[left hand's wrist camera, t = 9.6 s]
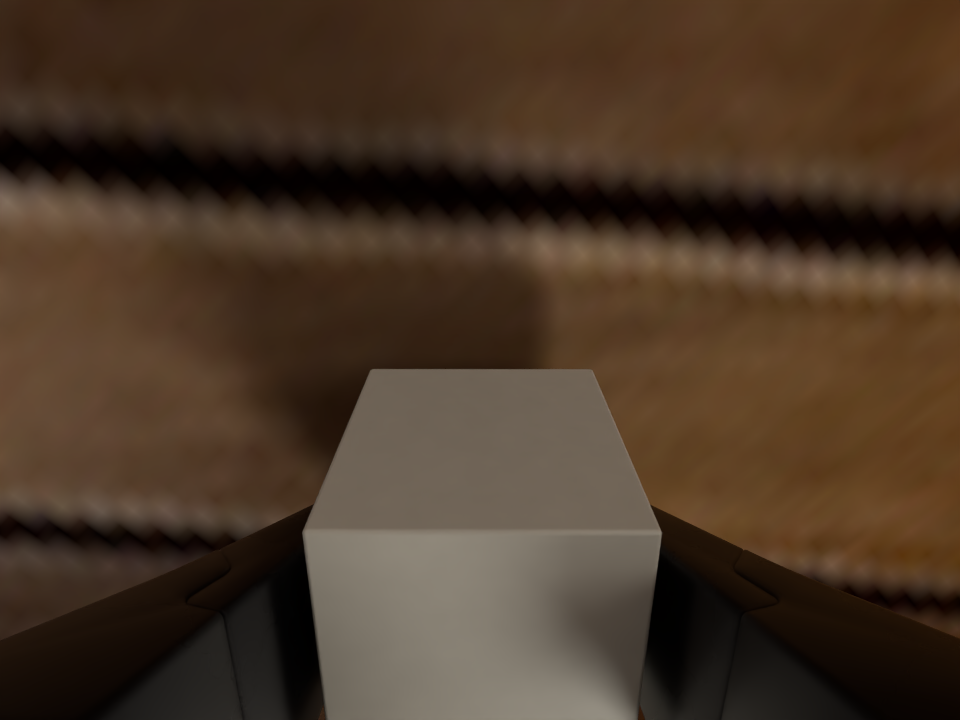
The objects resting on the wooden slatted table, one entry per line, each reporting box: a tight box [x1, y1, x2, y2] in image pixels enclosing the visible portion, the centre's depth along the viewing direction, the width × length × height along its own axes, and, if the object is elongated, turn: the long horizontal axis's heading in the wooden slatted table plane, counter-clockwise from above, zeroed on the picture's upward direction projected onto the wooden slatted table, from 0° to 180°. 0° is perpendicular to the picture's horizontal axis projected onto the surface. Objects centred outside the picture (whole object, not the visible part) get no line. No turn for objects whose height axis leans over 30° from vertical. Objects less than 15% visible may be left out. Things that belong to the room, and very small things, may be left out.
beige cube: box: [302, 369, 662, 720], centre depth 10 cm, size 4×5×5 cm
